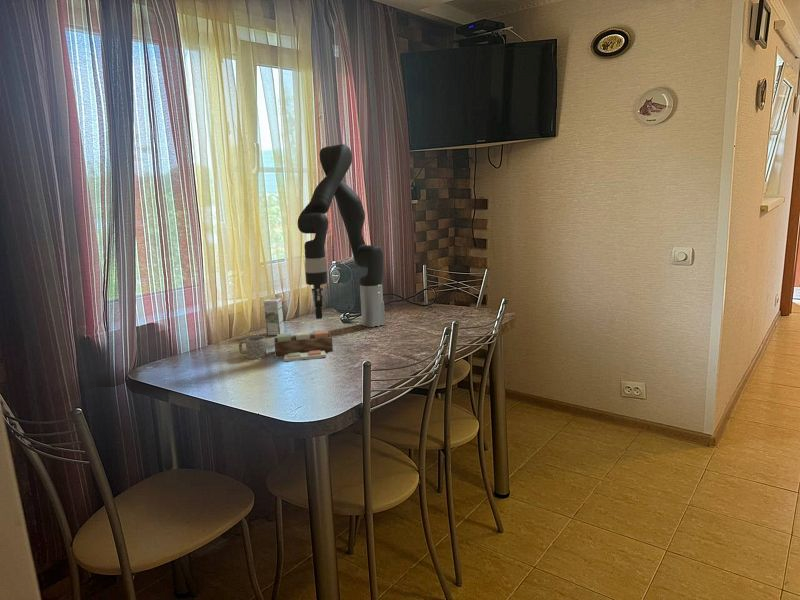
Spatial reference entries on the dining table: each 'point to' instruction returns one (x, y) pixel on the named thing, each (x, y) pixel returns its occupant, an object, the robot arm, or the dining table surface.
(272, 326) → the syrup box
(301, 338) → the grey key
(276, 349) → the brown wooden frame
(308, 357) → the card
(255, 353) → the mug
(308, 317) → the dining table surface
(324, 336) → the terracotta key
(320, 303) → the robot arm
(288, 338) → the sage key
